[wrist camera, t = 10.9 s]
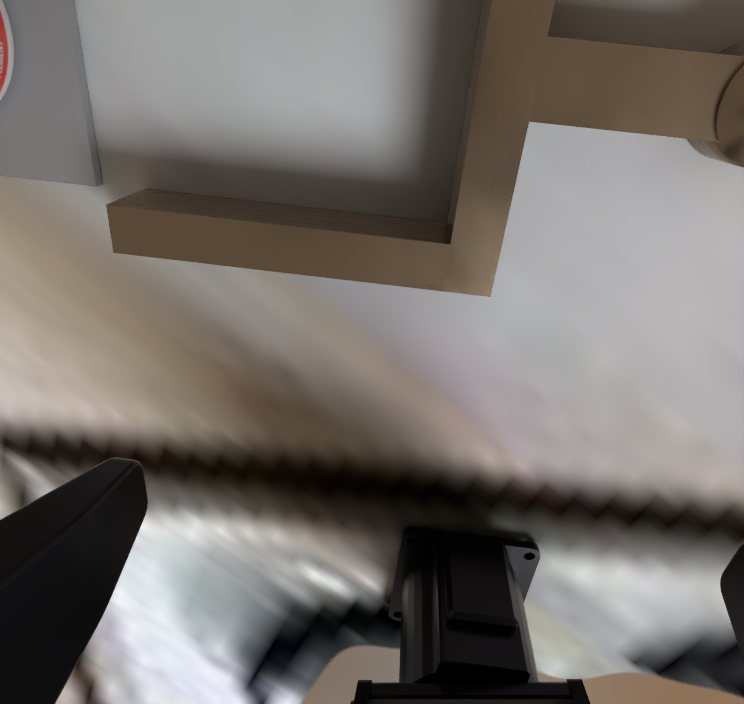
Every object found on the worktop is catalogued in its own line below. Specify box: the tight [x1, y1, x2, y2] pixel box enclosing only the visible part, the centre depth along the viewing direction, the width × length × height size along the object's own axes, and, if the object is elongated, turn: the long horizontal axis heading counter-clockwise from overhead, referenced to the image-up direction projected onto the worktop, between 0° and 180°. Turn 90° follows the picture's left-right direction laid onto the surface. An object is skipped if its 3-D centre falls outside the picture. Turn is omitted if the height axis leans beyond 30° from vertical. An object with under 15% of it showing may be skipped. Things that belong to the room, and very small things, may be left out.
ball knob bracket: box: [106, 0, 744, 297], centre depth 14 cm, size 12×20×2 cm, turn 85°
